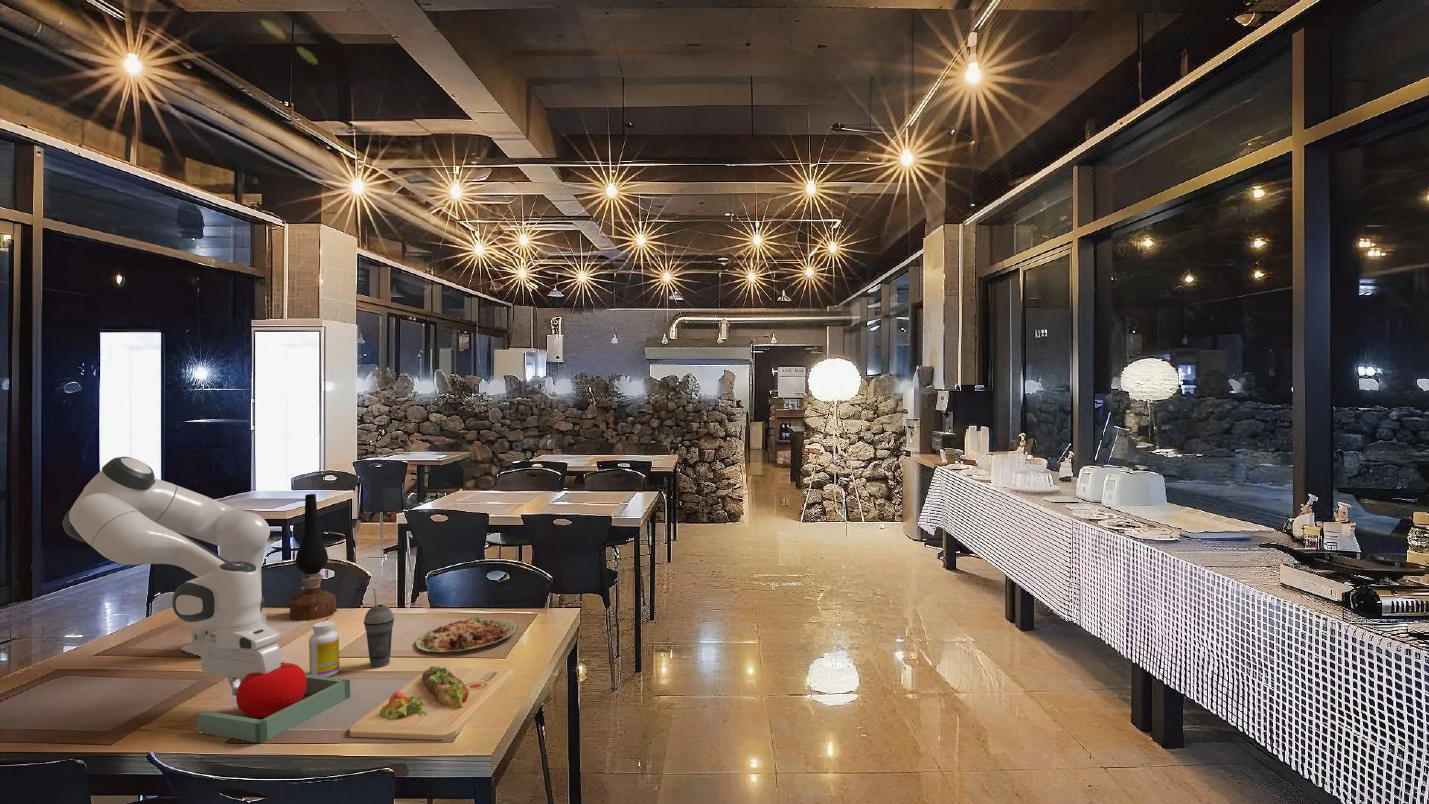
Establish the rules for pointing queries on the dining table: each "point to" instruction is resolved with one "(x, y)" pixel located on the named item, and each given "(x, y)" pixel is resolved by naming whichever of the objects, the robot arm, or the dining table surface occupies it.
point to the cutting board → (433, 704)
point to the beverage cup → (379, 633)
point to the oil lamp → (311, 570)
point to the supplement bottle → (324, 650)
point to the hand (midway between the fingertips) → (240, 695)
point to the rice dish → (466, 635)
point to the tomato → (271, 690)
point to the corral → (277, 713)
